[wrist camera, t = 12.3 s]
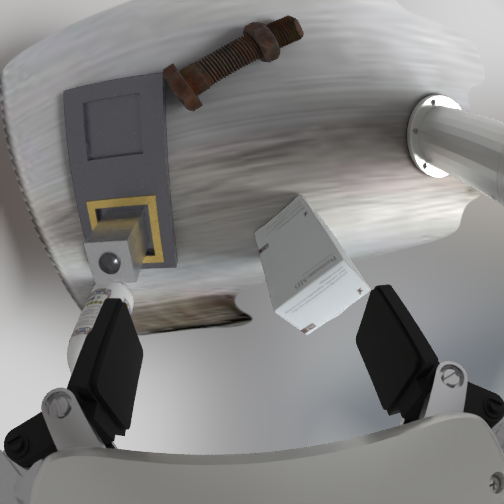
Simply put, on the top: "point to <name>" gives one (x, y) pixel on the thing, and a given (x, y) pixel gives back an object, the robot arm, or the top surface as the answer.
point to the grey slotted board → (123, 157)
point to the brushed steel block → (117, 246)
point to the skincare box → (306, 268)
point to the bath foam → (94, 315)
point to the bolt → (232, 58)
